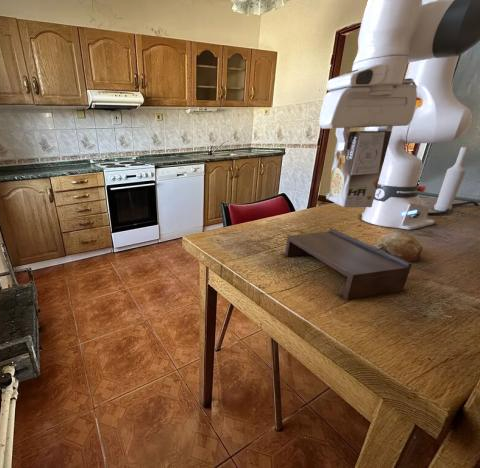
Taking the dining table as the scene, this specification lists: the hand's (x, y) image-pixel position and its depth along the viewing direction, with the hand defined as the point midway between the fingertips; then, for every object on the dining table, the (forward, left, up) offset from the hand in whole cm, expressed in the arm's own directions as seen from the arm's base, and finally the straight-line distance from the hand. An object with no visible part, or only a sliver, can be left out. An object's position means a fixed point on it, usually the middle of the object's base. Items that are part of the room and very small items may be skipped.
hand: (359, 149), depth 57 cm
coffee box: (0, 0, -12) cm, 12 cm away
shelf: (+2, +3, -29) cm, 29 cm away
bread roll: (-21, -1, -29) cm, 36 cm away
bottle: (-78, -30, -29) cm, 89 cm away
